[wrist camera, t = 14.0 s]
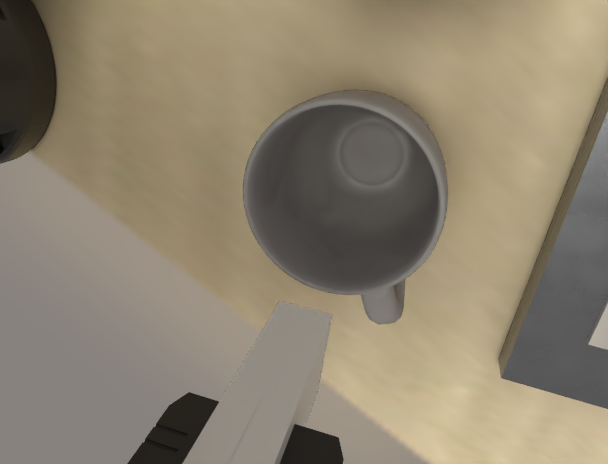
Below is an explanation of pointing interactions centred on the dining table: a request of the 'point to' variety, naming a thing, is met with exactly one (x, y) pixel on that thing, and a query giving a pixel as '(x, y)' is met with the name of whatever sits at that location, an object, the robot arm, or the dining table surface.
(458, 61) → the dining table surface
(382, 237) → the mug
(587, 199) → the chassis
